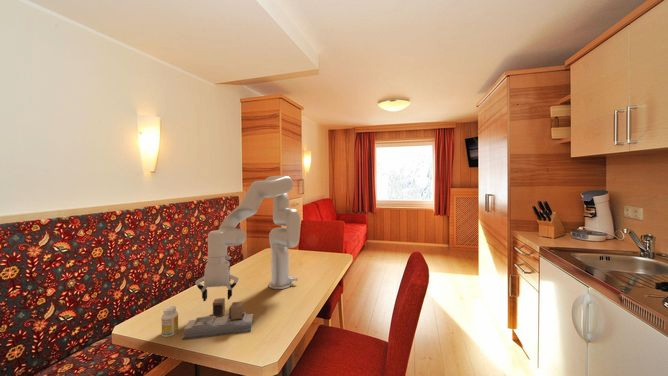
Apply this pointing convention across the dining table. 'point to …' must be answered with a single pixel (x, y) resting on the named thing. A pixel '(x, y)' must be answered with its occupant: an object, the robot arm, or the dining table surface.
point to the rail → (220, 324)
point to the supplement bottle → (169, 321)
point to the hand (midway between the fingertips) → (217, 299)
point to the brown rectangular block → (219, 307)
